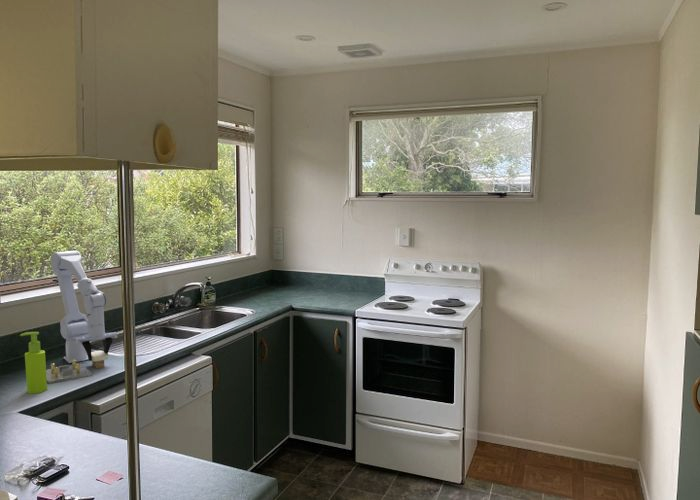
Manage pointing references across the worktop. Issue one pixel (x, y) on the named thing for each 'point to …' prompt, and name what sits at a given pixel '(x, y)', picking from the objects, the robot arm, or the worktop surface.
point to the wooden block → (98, 364)
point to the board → (99, 355)
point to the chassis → (66, 372)
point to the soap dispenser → (35, 365)
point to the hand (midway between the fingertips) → (97, 358)
